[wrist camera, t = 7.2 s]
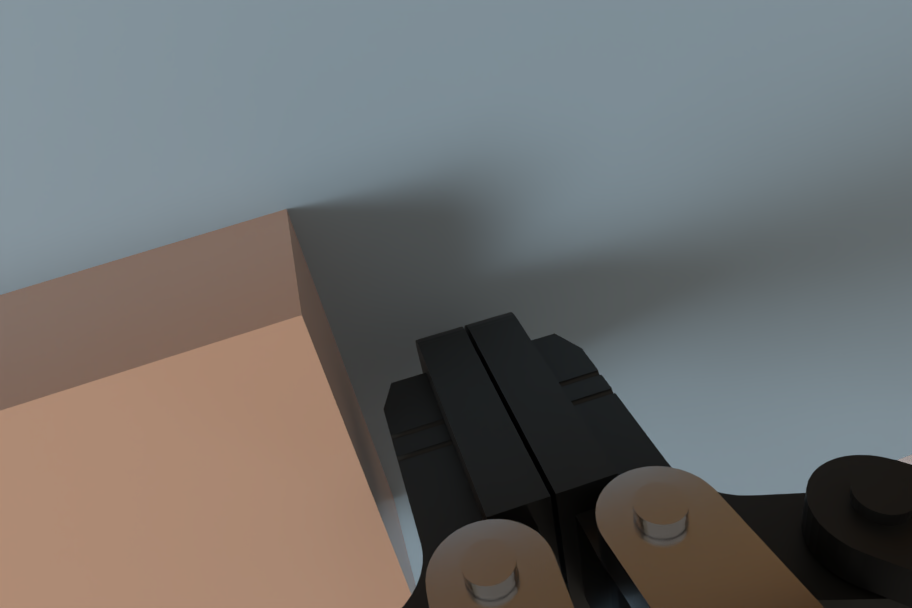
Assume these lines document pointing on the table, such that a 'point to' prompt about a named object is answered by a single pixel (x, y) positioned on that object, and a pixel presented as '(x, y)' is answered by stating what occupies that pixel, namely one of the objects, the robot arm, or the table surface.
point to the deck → (514, 191)
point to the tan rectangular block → (189, 438)
